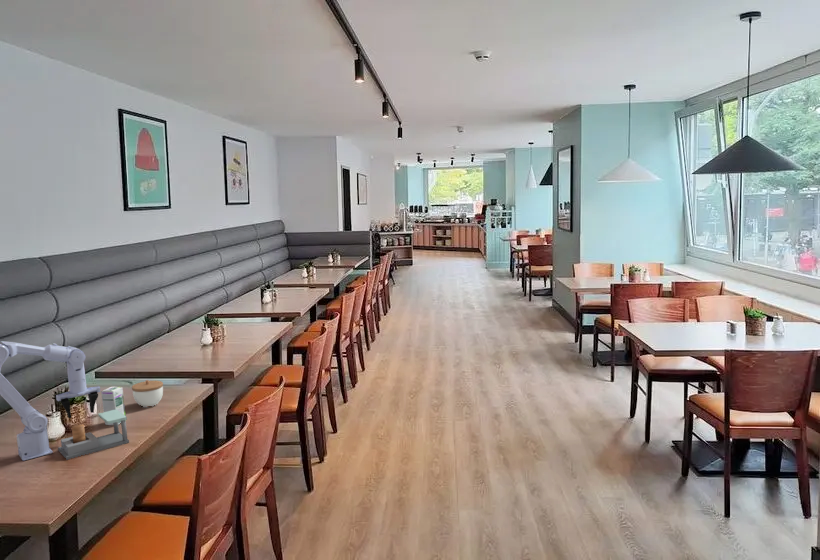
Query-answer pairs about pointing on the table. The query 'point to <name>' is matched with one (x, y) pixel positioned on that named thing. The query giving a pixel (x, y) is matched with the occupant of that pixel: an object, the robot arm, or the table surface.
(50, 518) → the table surface
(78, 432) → the peg
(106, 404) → the syrup box
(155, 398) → the lidded bowl
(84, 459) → the table surface
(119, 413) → the socket stand
